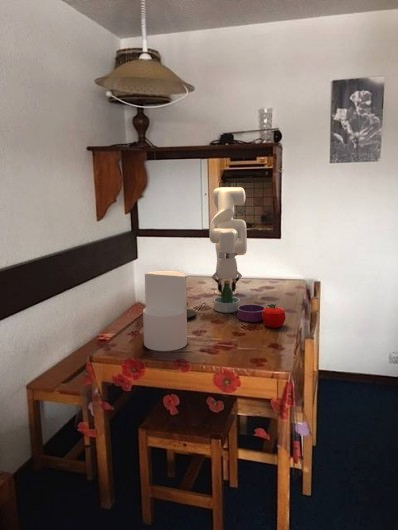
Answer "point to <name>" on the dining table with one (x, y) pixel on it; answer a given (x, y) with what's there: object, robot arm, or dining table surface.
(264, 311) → the apple
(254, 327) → the dining table surface
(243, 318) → the plum bowl
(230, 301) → the bottle
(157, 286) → the cylinder
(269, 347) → the dining table surface
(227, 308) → the pale bowl
